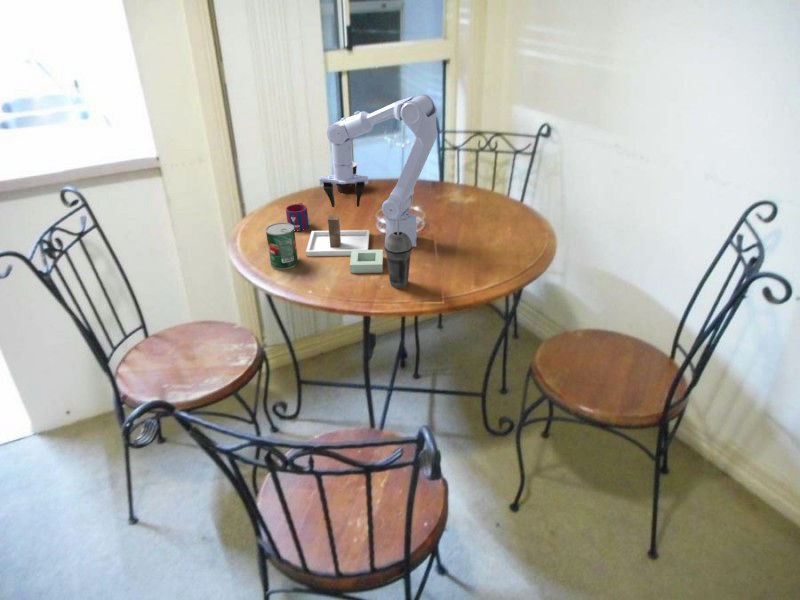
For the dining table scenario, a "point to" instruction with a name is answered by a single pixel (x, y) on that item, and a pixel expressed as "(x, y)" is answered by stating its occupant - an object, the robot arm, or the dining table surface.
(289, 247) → the canned tomato
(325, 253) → the tray
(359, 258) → the mint square peg hole
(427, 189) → the dining table surface
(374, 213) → the dining table surface
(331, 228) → the walnut peg
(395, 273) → the beverage cup
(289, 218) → the cup
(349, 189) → the coffee mug
